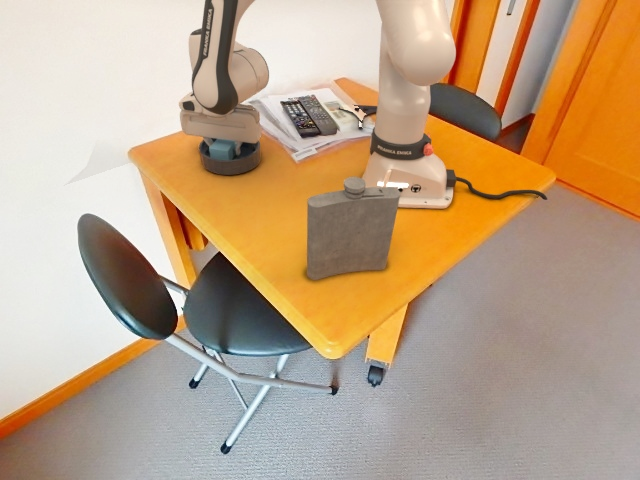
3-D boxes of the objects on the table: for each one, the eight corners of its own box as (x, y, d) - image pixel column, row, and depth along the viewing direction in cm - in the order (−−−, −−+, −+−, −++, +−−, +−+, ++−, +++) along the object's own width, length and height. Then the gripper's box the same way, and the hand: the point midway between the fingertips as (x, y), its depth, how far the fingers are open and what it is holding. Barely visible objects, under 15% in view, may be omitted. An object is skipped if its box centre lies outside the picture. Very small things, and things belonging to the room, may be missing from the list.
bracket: (336, 129, 120) (337, 120, 118) (339, 107, 131) (339, 99, 129) (384, 132, 120) (385, 123, 118) (382, 110, 131) (383, 102, 129)
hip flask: (308, 281, 75) (309, 195, 61) (304, 265, 78) (304, 180, 64) (388, 269, 78) (405, 184, 64) (381, 254, 81) (396, 171, 67)
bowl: (268, 149, 110) (267, 134, 107) (249, 180, 99) (248, 164, 96) (215, 142, 112) (213, 127, 109) (191, 171, 101) (188, 156, 98)
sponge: (222, 149, 108) (220, 134, 105) (240, 152, 108) (238, 136, 105) (211, 163, 103) (208, 148, 100) (229, 166, 102) (227, 151, 99)
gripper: (262, 100, 96) (266, 151, 105) (184, 92, 99) (194, 142, 108) (254, 111, 91) (259, 163, 101) (172, 102, 94) (184, 153, 103)
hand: (225, 152), depth 104 cm, fingers closed on sponge, 5 cm apart
